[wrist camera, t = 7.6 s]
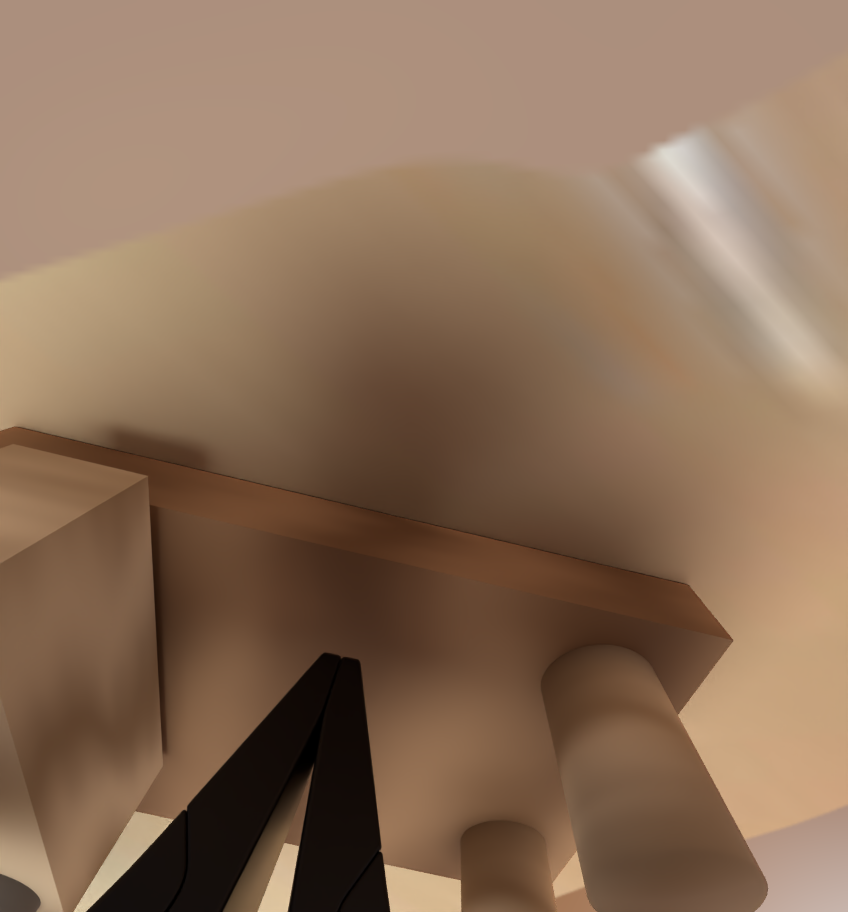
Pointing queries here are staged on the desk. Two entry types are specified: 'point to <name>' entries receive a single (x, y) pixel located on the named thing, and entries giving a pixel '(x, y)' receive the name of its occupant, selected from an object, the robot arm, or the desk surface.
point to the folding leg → (72, 671)
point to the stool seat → (446, 689)
